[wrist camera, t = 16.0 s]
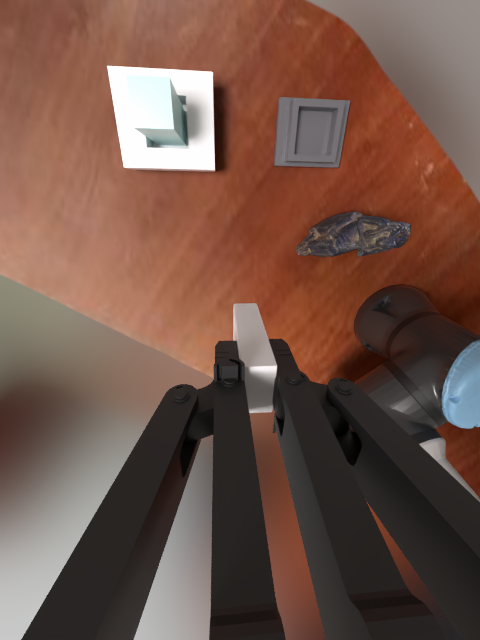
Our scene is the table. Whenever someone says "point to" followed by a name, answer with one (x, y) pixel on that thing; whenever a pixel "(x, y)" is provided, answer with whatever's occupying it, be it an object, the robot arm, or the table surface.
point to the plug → (157, 109)
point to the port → (198, 122)
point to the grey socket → (310, 132)
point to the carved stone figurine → (354, 235)
